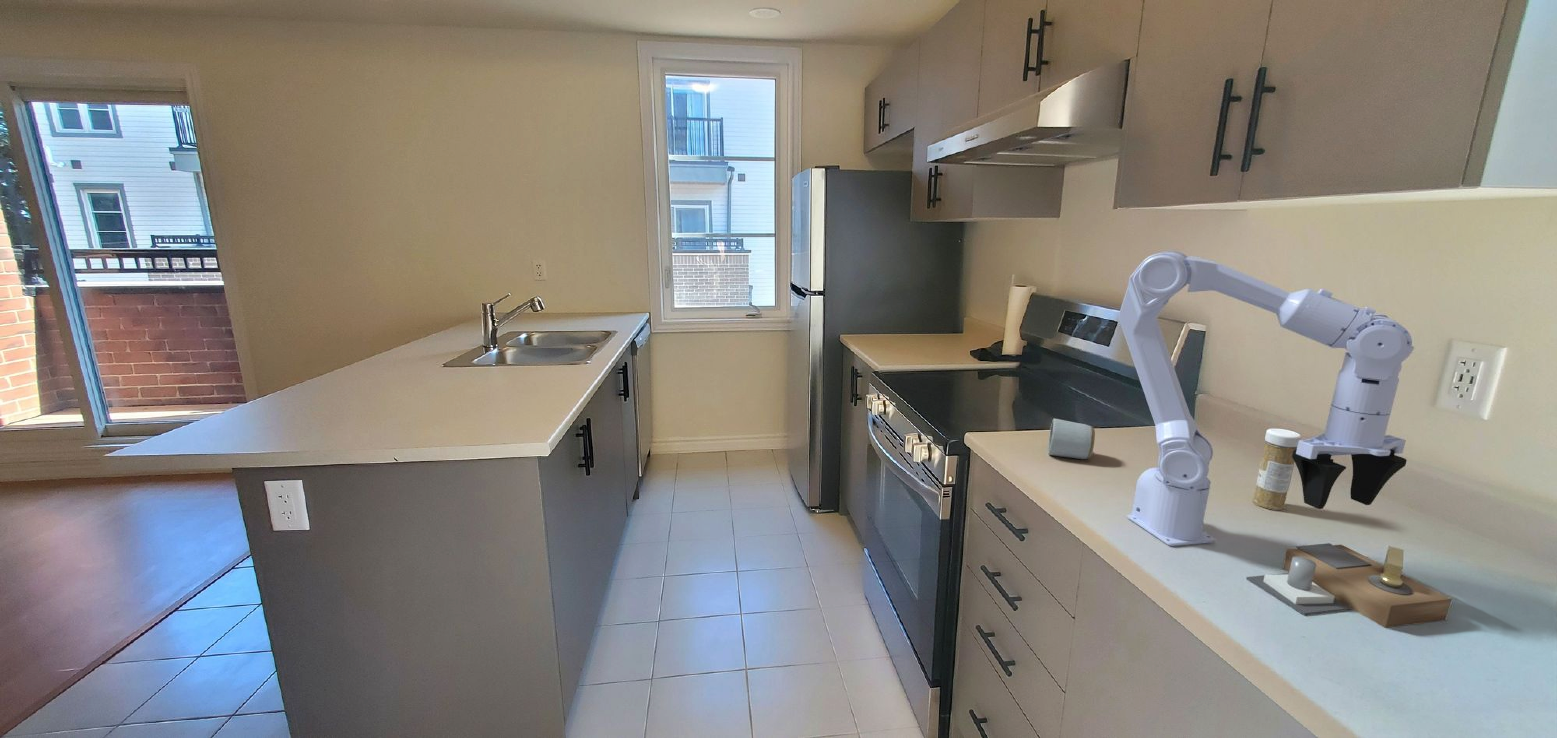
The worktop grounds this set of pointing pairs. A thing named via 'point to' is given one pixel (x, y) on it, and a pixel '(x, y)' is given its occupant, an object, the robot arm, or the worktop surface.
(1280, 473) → the sprinkles bottle
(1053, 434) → the ceramic mug
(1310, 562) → the cover
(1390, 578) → the lever handle
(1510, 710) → the worktop surface
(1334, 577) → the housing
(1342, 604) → the mat
